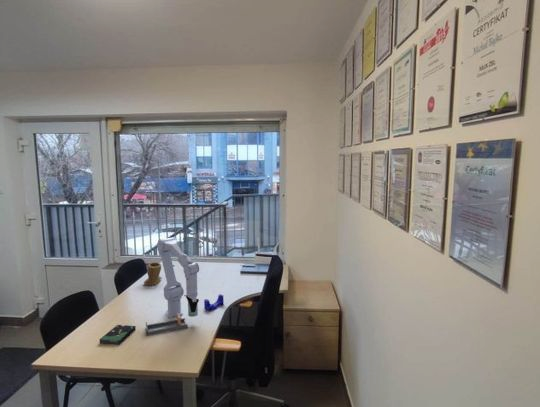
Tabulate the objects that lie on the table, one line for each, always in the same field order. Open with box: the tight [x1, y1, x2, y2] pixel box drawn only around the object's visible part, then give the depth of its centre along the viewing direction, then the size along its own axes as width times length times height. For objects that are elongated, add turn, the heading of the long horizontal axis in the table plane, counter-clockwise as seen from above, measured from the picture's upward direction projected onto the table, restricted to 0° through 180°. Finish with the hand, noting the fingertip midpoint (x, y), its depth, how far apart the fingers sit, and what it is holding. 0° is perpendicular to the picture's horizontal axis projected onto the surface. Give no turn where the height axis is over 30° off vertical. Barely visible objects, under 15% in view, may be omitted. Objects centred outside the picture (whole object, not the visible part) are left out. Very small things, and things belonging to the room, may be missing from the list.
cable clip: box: [203, 294, 225, 312], centre depth 191 cm, size 12×4×6 cm, turn 136°
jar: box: [187, 301, 199, 318], centre depth 170 cm, size 5×5×7 cm
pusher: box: [176, 313, 182, 325], centre depth 168 cm, size 6×1×5 cm, turn 24°
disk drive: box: [99, 324, 136, 346], centre depth 157 cm, size 10×3×15 cm
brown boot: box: [143, 261, 163, 286], centre depth 234 cm, size 15×12×15 cm
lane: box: [144, 317, 189, 337], centre depth 166 cm, size 8×21×3 cm, turn 114°
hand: (192, 309), depth 170 cm, fingers closed on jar, 5 cm apart
